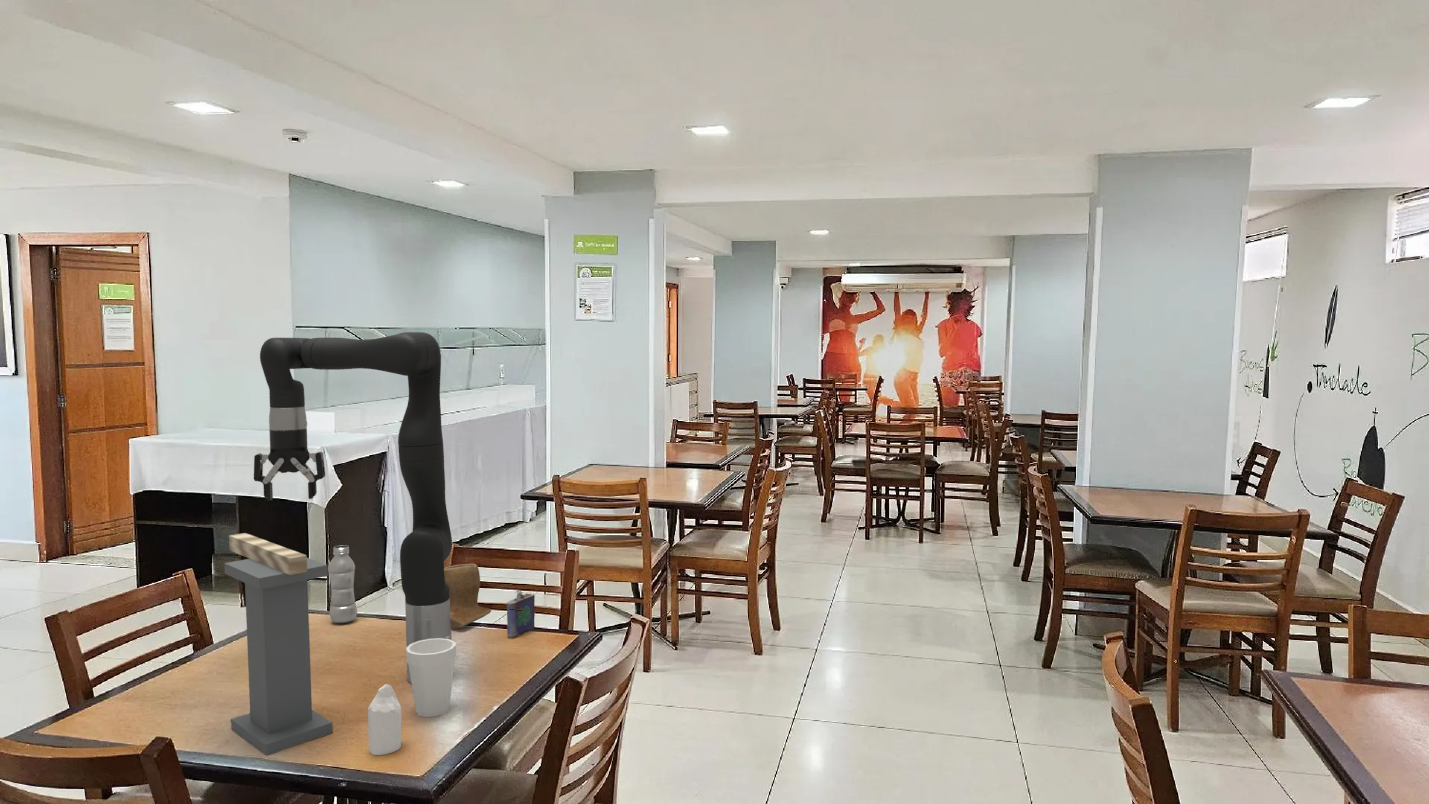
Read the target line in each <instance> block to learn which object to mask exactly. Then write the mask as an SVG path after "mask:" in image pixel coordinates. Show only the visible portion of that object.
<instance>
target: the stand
mask: <svg viewBox="0 0 1429 804" xmlns="http://www.w3.org/2000/svg"><path fill="white" fill-rule="evenodd" d="M224 574H225V575H227V576H229V577H231V578H233V579H236V580H237V581H240V582H242V583H244V586H245V587H244V590H245V591H244V593H245V594H244V595H245V617H246V639H247V642H246V645H247V665H248V688H249V690H248V691H249V713H246V714H243V715H240V716H236V717H233V718H231V719H230V726H231V727H230V730H232V731H233V732H234V733H235V734H237V735H238V736H239V737H241V738H243V740H245V741H246V742H248V743H249V744H250V745H251V746H253V747H254V748H255V749H257V750H259V751H260V752H261V753H262V754H263V755H265V756H268V755H271V754H275V753H278V752H280V751H284V750H287V749H289V748H292V747H295V746H298V745H301V744H305V743H307V742H310V741H313V740H315V739H318V738H321V737H324V736H328V735H330V734H333V729H334V728H333V727H334V725H333V722H332V721H331V720H330V719H327V717H325V716H323V715H321V714H320V713H318V712H317V711H315V710H313V707H312V706H313V705H312V704H313V703H312V701H313V700H312V678H311V677H312V676H311V647H310V646H311V642H310V621H309V618H310V617H309V592H308V589H309V588H308V587H309V586H308V580H313V579H318V578H319V579H320V578H323V577H328V576H329V573H328V564H326V563H323V562H320V561H317V560H314V559H311V558H309V557H307V572H303V573H298V574H293V575H289V574H286V573H284V572H281V571H279V570H276V569H274V568H271V567H269V566H267V565H264V564H262V563H259V562H257V561H254V560H252V559H249V558H246V559H241V560H235V561H229V562H224Z"/></svg>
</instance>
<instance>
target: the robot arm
mask: <svg viewBox="0 0 1429 804" xmlns="http://www.w3.org/2000/svg"><path fill="white" fill-rule="evenodd" d="M259 361H260V365H261V369H262V372H263V374H264V379H265V381H266V384H267V386H268V390H269V391H268V392H269V393H268V394H269V415H268V426H269V449H270V451H269V454H266V453H265V454H264V453H261V452H259V453H257V454H255V455H254V456H253V457H254V458H253V480H254V481H255V482H260V483H262V486H263V497H264V498H265V499H266V500H267V501H272V500H273V499H274V497H273V496H274V494H273V493H274V491H273V482H272V480H273V479H274V478H275V477H276V475H277V474H278V473H281V474H286V473H297V472H299V473H300V474H302V475H303V476H304V477H305V478H306V479H307V480H308V483H307V491H308V493H307V496H308V499H309V500H312V499H314V498H315V496H316V495H317V481H319V480H322V479H323V478H325V477H326V469H325V458H324V452H322V451H317V452H309V449H308V421H307V420H308V419H307V413H306V407H305V404H306V403H305V402H306V401H305V400H306V399H305V386H304V384H303V382H301V381H300V380H297V379H294V378H293V376H292V373H291V370H298V369H299V370H301V369H302V370H303V369H312V370H319V371H320V370H323V371H325V370H329V371H330V370H333V371H334V370H335V371H336V370H337V371H338V370H340V371H341V370H342V371H343V370H353V369H354V370H356V369H363V370H373V371H375V370H376V371H381V372H386V373H391V374H395V375H399V376H400V375H401V376H404V377H405V376H406V377H407V382H408V383H407V384H408V385H407V386H408V400H407V406H406V408H405V412H404V415H403V418H402V420H401V425H400V427H399V432H398V437H397V446H398V447H397V448H398V460H399V467H400V473H401V475H402V478H403V481H404V484H405V487H406V488H407V489H406V490H407V491H408V494H409V497H410V501H411V508H412V532H410V533H409V534H407V535H406V536H405V538H404V539H403V540H402V543H401V546H400V549H399V551H400V552H399V556H400V557H399V565H400V566H399V567H400V581H401V582H400V583H401V588H402V592H403V594H404V599H405V600H404V601H405V603H404V605H405V607H404V608H405V638H406V640H405V641H406V642H405V643H406V648H407V647H408V646H409V645H410V644H412V643H415V642H417V641H421V640H426V639H435V638H443V639H450V640H452V638H453V637H452V629H451V628H450V589H449V586H448V584H446V582H445V574H444V568H445V561H446V560H447V558H448V557H449V556H450V554H451V552H452V547H453V537H452V532H451V527H450V521H449V516H448V510H447V504H446V503H447V502H446V477H445V476H446V474H445V471H446V470H445V452H444V449H445V448H444V440H443V430H442V429H443V428H442V427H443V426H442V413H441V411H442V410H441V408H442V407H441V375H442V374H441V372H442V354H441V347H440V345H439V343H438V341H437V339H436V338H435V337H434V336H433V335H432V334H430V333H427V332H420V331H419V332H418V331H415V332H414V331H412V332H411V331H409V332H408V331H405V332H404V331H403V332H399V333H396V334H393V335H392V334H391V335H387V336H382V337H377V338H369V339H368V338H366V339H358V338H356V339H354V338H349V337H348V338H347V337H313V338H307V337H271V338H270V337H269V338H268V339H267V340H264V342H263V344H262V346H261V348H260V351H259ZM310 459H312V462H313V463H315V466H316V474H315V473H314V472H313V470H312V469H311V467H310V466H308V464H307V463H308V461H309V460H310ZM267 460H268V461H269V463H270V464H271V465H272V467H271V469H270V470H269V471H268V473H267V474H266V475H264V474H263V471H264V465H265V464H266V463H267ZM452 641H453V640H452ZM406 673H407V674H406V676H407V681H408V682H409V683H411V677H410V671H409V665H408V663H407V662H406ZM411 684H412V683H411Z"/></svg>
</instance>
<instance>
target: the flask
mask: <svg viewBox="0 0 1429 804" xmlns="http://www.w3.org/2000/svg"><path fill="white" fill-rule="evenodd" d="M514 593H515V594H516V598H513V599H511V600H509V601H507V602H506V621H507V622H506V624H507V627H506V631H507V633H506V637H507V639H511V638H512V639H514V638H515V637H516V638H518V637H520V636H524V635H525V634H526V633H529V632H532V631H534V630H535V627H536V626H535V618H536V617H535V615H536V613H535V602H536V601H535V598H536V597H535V594H532V593H525V594H523V593H524V592H522V590H517V591H516V592H514ZM515 606H520V607H515ZM510 609H521V610H524V611H515V610H510ZM524 633H525V634H524ZM519 635H520V636H519ZM517 636H518V637H517ZM516 638H515V639H516Z"/></svg>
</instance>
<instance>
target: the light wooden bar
mask: <svg viewBox="0 0 1429 804" xmlns="http://www.w3.org/2000/svg"><path fill="white" fill-rule="evenodd" d="M228 539H229V541H228V543H229V544H228V545H229V547H228V548H229V551H231V552H233V553H235V554H237V555H240V556H243V557H245V558H246V559H252V560H254V561H257V562H259V563H262V564H264V565H267V566H269V567H271V568H274V569H276V570H279V571H281V572H284V573H286V574H289V575H293V574H298V573H303V572H307V558H308V557H307V554H304V553H301V552H299V551H296V550H293V549H290V548H287V547H285V546H282V545H280V544H276V543H274V542H272V541H271V542H270V541H268V540H266V539H263V538H259V536H255V535H253V534H249V533H246V532H243V533H242V532H241V533H236V534H229V535H228Z"/></svg>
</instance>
